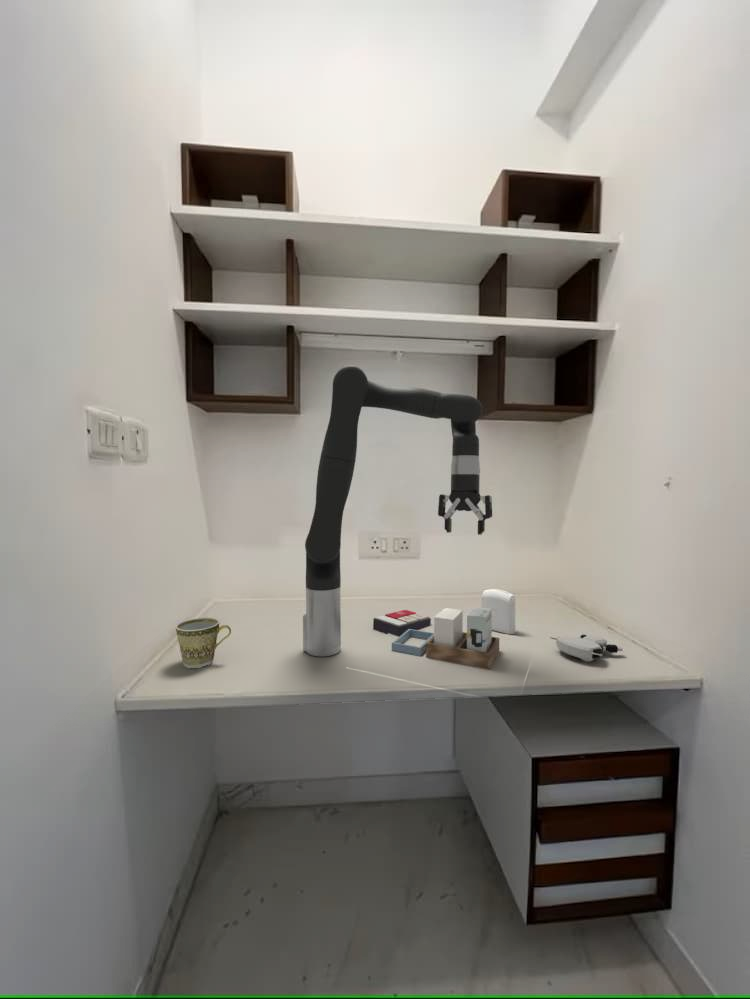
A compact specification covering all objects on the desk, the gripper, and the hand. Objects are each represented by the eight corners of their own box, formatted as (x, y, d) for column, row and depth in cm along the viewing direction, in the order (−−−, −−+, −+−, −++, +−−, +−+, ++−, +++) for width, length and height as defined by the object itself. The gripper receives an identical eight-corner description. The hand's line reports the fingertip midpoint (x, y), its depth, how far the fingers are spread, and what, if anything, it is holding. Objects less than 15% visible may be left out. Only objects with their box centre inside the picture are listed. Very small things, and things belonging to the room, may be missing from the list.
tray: (391, 652, 112) (391, 642, 112) (408, 637, 123) (408, 628, 123) (420, 657, 109) (420, 648, 108) (436, 642, 119) (436, 633, 119)
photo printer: (479, 627, 131) (480, 588, 131) (487, 624, 134) (487, 585, 134) (510, 636, 124) (510, 594, 124) (517, 632, 127) (517, 591, 127)
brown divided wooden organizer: (426, 658, 108) (426, 643, 108) (440, 642, 119) (440, 628, 119) (489, 671, 101) (489, 654, 101) (499, 652, 112) (499, 637, 112)
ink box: (473, 649, 113) (473, 605, 112) (492, 652, 111) (492, 607, 110) (465, 661, 105) (466, 614, 105) (485, 665, 103) (486, 617, 102)
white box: (434, 655, 109) (434, 617, 108) (444, 643, 117) (444, 607, 116) (453, 659, 106) (453, 619, 106) (462, 646, 114) (462, 610, 114)
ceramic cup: (169, 672, 100) (168, 631, 100) (185, 655, 110) (184, 617, 110) (225, 671, 101) (225, 629, 101) (236, 654, 111) (236, 616, 111)
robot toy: (582, 645, 120) (546, 651, 112) (583, 629, 120) (547, 634, 112) (626, 660, 109) (590, 669, 102) (627, 643, 109) (591, 650, 102)
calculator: (431, 615, 133) (399, 624, 122) (431, 629, 133) (398, 639, 122) (405, 608, 141) (372, 615, 130) (405, 621, 141) (372, 629, 130)
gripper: (435, 473, 114) (434, 533, 114) (488, 472, 107) (487, 536, 108) (444, 473, 120) (443, 530, 121) (495, 473, 114) (494, 533, 114)
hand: (464, 533), depth 114 cm, fingers open, 8 cm apart
